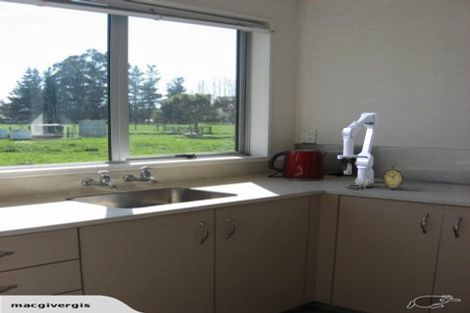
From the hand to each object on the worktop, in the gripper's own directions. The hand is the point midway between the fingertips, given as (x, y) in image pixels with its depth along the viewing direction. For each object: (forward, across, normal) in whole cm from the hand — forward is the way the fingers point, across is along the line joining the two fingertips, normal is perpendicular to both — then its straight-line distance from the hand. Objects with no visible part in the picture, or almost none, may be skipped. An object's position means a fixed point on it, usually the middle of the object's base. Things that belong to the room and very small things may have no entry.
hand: (347, 170), depth 246 cm
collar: (+2, 0, 0) cm, 2 cm away
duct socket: (+9, +1, -9) cm, 13 cm away
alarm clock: (+9, +15, -21) cm, 27 cm away
